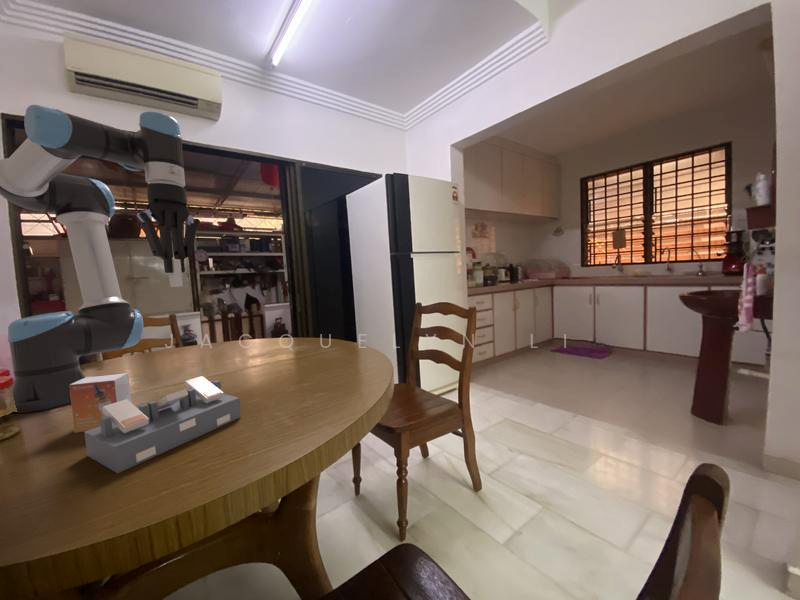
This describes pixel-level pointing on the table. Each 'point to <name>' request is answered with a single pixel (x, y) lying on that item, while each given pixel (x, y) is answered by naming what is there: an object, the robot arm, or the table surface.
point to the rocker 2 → (171, 399)
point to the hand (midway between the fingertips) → (176, 286)
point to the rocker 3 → (204, 389)
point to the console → (159, 430)
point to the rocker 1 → (125, 415)
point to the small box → (96, 398)
